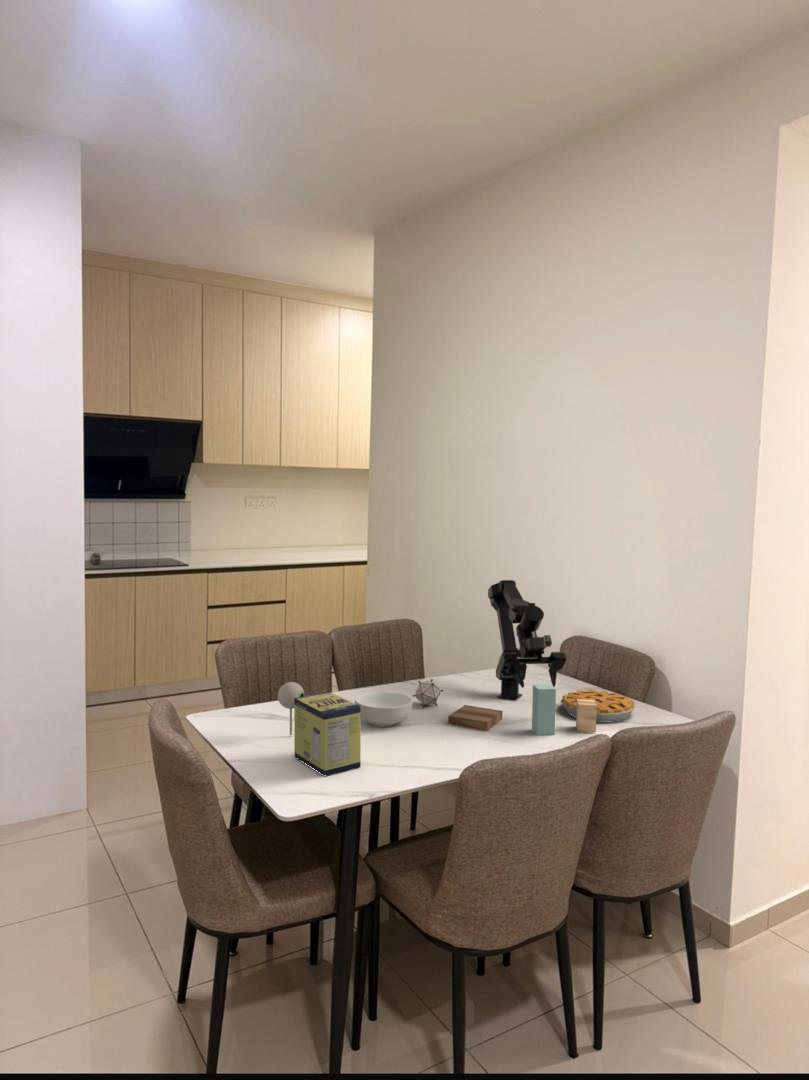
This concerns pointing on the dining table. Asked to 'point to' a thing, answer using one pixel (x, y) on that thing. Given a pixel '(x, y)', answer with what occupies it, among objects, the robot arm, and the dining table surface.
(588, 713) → the oak block
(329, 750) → the protein box
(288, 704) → the lollipop
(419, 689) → the wireframe polyhedron model
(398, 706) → the cereal bowl
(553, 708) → the teal block
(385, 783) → the dining table surface
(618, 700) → the pie
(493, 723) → the walnut slab
